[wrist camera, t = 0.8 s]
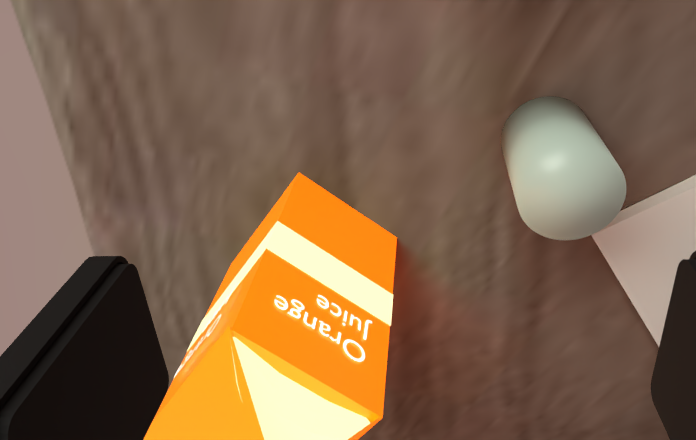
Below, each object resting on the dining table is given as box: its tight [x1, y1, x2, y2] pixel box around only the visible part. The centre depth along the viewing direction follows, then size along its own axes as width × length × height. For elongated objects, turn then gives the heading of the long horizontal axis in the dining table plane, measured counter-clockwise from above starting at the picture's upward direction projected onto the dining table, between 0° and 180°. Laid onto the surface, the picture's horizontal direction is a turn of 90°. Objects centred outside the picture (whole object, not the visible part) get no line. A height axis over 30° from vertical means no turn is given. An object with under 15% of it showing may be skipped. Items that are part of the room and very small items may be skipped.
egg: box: [501, 96, 626, 240], centre depth 30 cm, size 5×5×7 cm
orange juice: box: [144, 173, 397, 440], centre depth 30 cm, size 8×9×20 cm
